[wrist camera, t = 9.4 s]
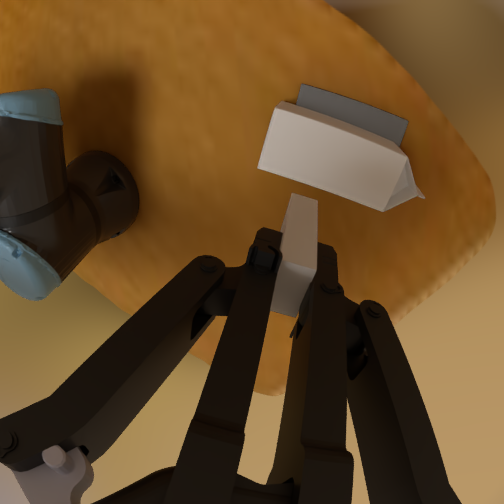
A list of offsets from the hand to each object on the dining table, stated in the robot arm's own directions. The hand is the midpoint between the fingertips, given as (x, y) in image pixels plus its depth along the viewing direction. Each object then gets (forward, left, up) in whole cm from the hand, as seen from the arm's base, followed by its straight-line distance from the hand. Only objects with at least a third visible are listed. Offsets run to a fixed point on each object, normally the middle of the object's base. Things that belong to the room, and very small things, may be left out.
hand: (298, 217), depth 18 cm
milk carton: (-5, 0, -20) cm, 20 cm away
